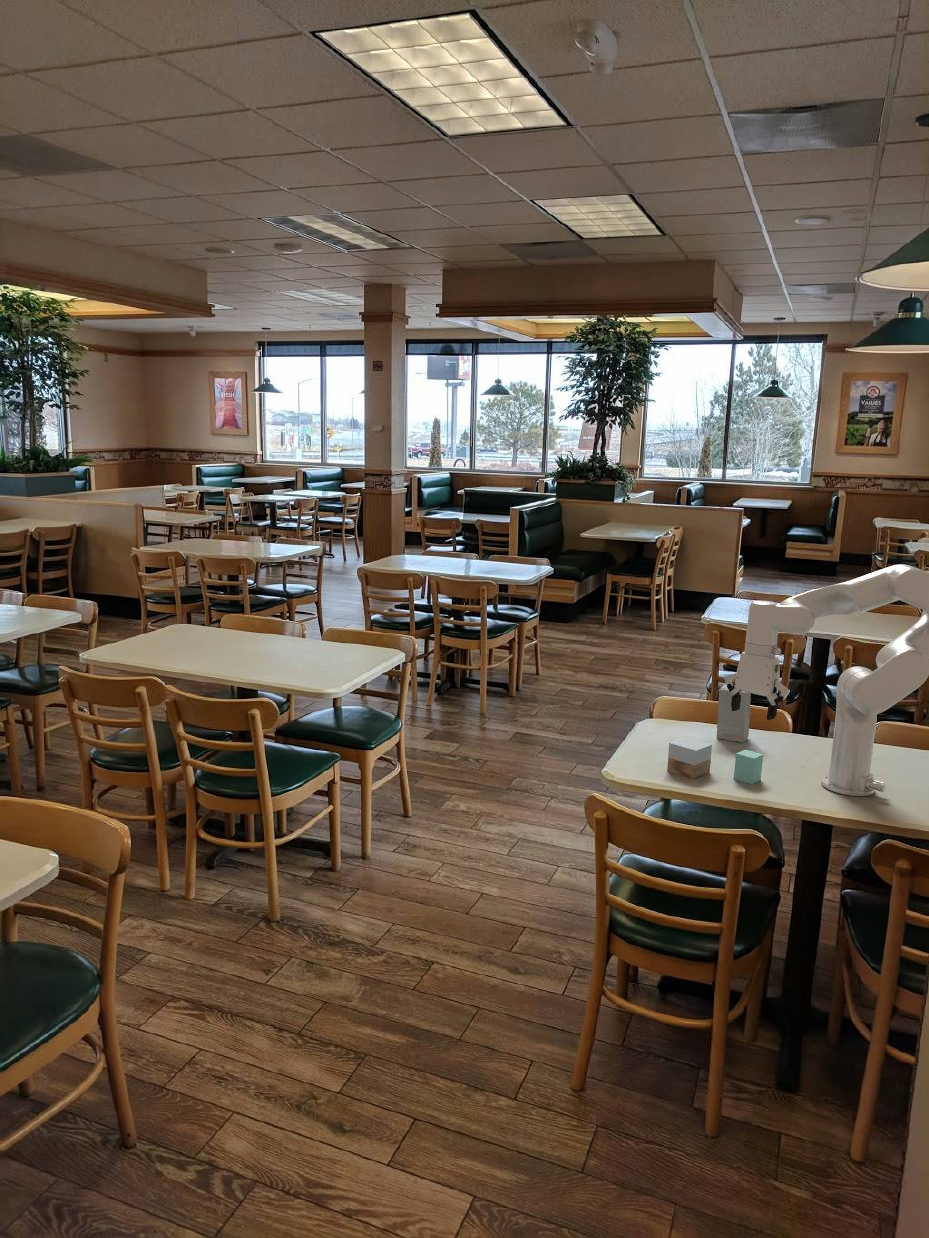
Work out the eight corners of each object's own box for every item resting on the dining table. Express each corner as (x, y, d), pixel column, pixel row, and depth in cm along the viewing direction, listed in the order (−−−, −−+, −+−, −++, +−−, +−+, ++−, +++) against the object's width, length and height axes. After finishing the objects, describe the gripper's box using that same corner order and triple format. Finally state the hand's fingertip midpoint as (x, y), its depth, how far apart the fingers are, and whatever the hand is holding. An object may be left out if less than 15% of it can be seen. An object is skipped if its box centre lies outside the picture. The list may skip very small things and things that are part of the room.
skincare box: (748, 738, 267) (753, 687, 264) (742, 744, 261) (748, 692, 258) (720, 733, 271) (725, 682, 268) (713, 738, 265) (718, 687, 262)
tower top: (710, 759, 235) (712, 744, 235) (694, 765, 230) (696, 750, 229) (684, 751, 241) (685, 737, 240) (668, 757, 235) (669, 742, 235)
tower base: (709, 773, 236) (710, 759, 235) (693, 780, 230) (695, 765, 230) (683, 765, 241) (684, 751, 241) (667, 771, 236) (668, 757, 235)
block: (760, 780, 232) (763, 754, 231) (751, 784, 228) (754, 758, 227) (742, 774, 235) (745, 749, 234) (733, 779, 232) (736, 753, 231)
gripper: (799, 654, 222) (791, 720, 225) (736, 641, 234) (729, 704, 237) (786, 658, 217) (778, 725, 220) (721, 645, 229) (715, 709, 232)
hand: (752, 714), depth 229 cm, fingers open, 9 cm apart
